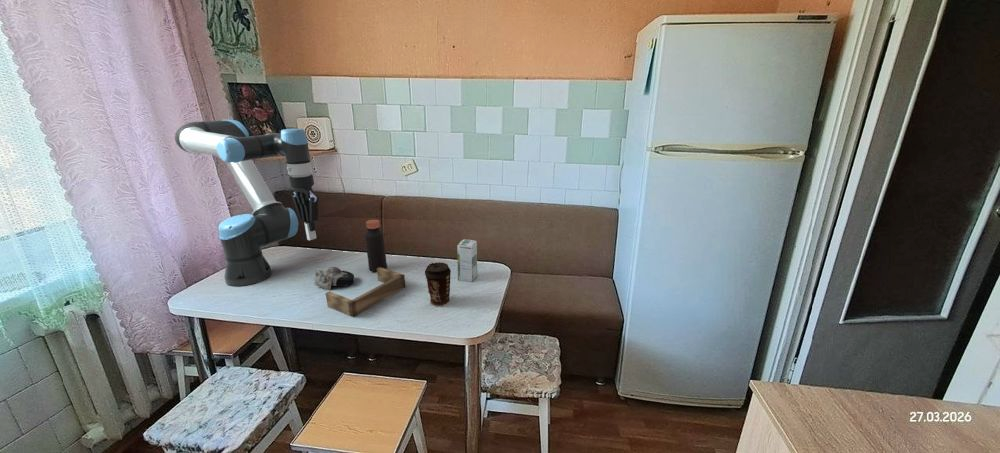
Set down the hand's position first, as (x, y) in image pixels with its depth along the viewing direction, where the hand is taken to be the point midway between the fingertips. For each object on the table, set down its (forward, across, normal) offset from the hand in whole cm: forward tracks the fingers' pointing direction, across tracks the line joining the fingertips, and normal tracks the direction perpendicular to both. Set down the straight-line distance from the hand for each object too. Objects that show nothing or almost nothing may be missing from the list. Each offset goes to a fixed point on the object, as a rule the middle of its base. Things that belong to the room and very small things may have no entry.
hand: (311, 238), depth 144 cm
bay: (+16, +26, 0) cm, 31 cm away
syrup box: (+16, +48, +29) cm, 59 cm away
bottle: (+16, +13, +17) cm, 27 cm away
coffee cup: (+16, +50, +10) cm, 54 cm away
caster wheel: (+16, +10, +1) cm, 19 cm away
